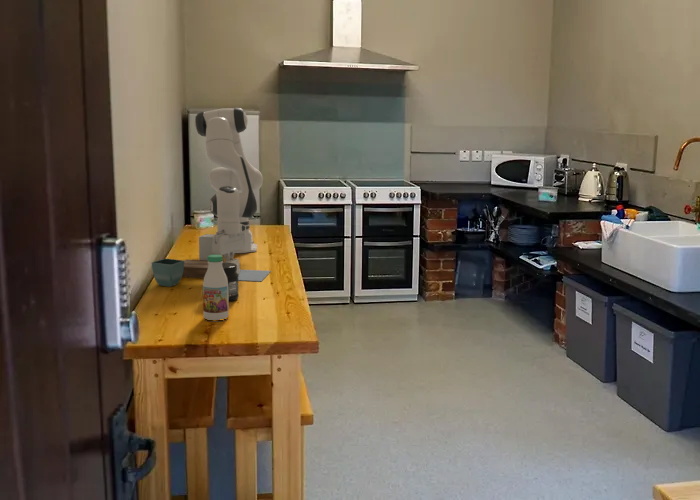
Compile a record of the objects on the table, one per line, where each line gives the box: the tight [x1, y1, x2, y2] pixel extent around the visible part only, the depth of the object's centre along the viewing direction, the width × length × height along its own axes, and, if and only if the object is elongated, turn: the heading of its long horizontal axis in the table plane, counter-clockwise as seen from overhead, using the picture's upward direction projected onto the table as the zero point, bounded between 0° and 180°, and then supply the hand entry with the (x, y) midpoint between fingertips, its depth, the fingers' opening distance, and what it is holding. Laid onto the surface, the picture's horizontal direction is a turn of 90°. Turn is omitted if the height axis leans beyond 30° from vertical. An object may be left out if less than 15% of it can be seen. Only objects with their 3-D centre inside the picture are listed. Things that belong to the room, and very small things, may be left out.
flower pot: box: [151, 258, 185, 287], centre depth 253 cm, size 9×9×9 cm
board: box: [182, 259, 225, 279], centre depth 272 cm, size 14×18×4 cm
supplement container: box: [222, 262, 239, 302], centre depth 235 cm, size 10×10×12 cm
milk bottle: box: [202, 255, 230, 320], centre depth 211 cm, size 8×8×20 cm
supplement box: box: [198, 233, 215, 260], centre depth 288 cm, size 7×7×13 cm
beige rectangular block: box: [227, 258, 241, 274], centre depth 268 cm, size 9×6×2 cm
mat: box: [238, 269, 272, 283], centre depth 271 cm, size 18×15×1 cm
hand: (229, 263), depth 271 cm, fingers closed
